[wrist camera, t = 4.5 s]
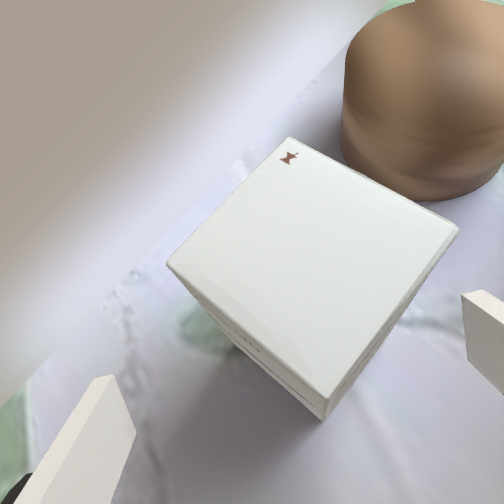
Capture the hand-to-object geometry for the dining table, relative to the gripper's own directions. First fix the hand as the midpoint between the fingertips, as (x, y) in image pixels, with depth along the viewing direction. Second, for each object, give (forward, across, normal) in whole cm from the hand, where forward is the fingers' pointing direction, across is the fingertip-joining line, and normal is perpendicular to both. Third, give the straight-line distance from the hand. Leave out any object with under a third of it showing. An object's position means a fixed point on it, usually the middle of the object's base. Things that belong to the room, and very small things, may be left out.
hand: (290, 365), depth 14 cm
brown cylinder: (+18, +14, +5) cm, 23 cm away
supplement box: (+9, +2, -4) cm, 10 cm away
